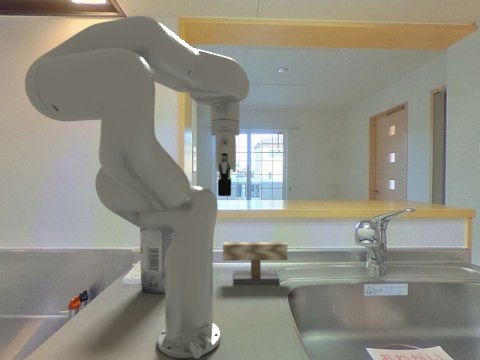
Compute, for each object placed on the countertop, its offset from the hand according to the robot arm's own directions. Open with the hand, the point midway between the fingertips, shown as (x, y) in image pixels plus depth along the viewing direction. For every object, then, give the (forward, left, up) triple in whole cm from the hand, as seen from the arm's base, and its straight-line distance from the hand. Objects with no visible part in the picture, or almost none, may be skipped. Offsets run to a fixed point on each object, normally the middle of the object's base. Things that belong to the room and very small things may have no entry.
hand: (225, 194), depth 78 cm
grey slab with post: (+9, -14, -28) cm, 33 cm away
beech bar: (+9, -14, -22) cm, 28 cm away
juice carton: (+16, +14, -28) cm, 36 cm away
